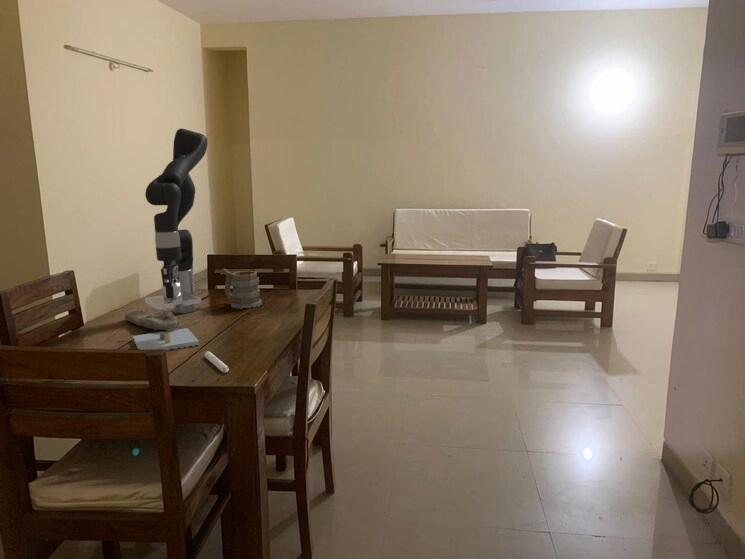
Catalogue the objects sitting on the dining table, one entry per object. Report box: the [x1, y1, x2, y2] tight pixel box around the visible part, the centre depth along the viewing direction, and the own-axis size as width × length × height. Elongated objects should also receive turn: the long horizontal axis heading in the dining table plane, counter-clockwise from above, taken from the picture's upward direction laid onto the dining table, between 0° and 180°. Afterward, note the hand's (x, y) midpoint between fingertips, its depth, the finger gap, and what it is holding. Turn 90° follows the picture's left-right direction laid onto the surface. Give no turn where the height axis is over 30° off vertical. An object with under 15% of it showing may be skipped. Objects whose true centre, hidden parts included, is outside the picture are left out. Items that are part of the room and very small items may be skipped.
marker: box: [204, 351, 230, 374], centre depth 162 cm, size 18×2×2 cm, turn 34°
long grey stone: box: [124, 310, 179, 331], centre depth 204 cm, size 35×5×10 cm
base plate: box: [132, 327, 200, 352], centre depth 184 cm, size 18×18×4 cm
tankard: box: [219, 268, 263, 310], centre depth 236 cm, size 20×13×15 cm, turn 58°
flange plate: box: [144, 282, 202, 311], centre depth 183 cm, size 14×14×7 cm
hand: (172, 295), depth 183 cm, fingers closed on flange plate, 5 cm apart
